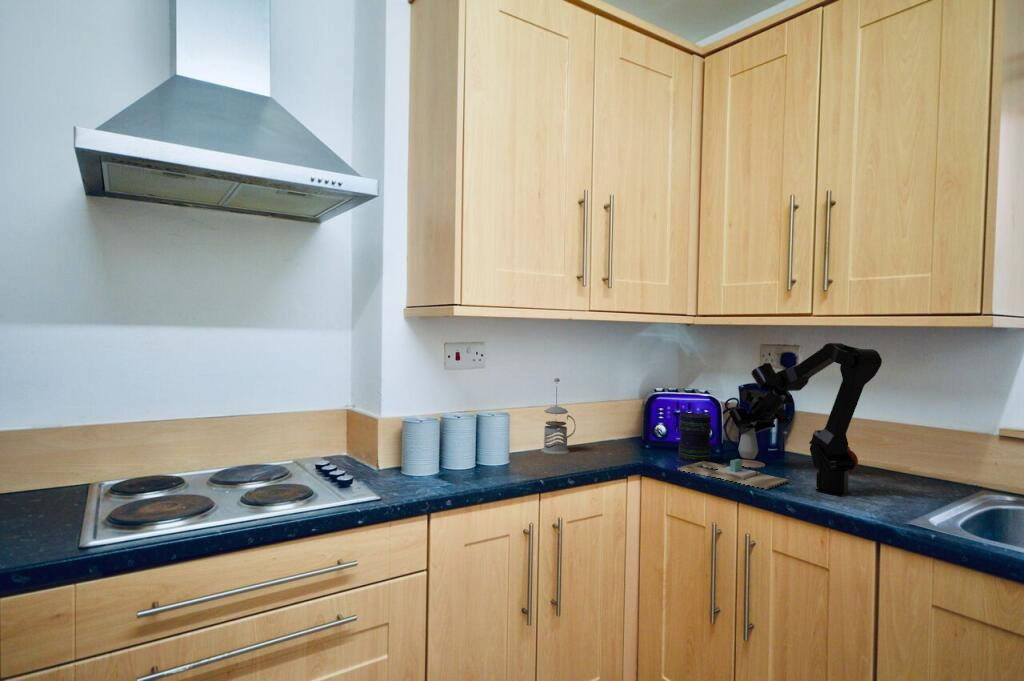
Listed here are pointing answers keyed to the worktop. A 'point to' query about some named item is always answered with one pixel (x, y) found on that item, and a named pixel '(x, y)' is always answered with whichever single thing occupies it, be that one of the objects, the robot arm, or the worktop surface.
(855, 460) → the onion
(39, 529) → the worktop surface
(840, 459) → the robot arm
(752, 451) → the salt shaker
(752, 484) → the board
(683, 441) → the storage jar
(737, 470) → the cover
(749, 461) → the pad
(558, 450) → the french press
